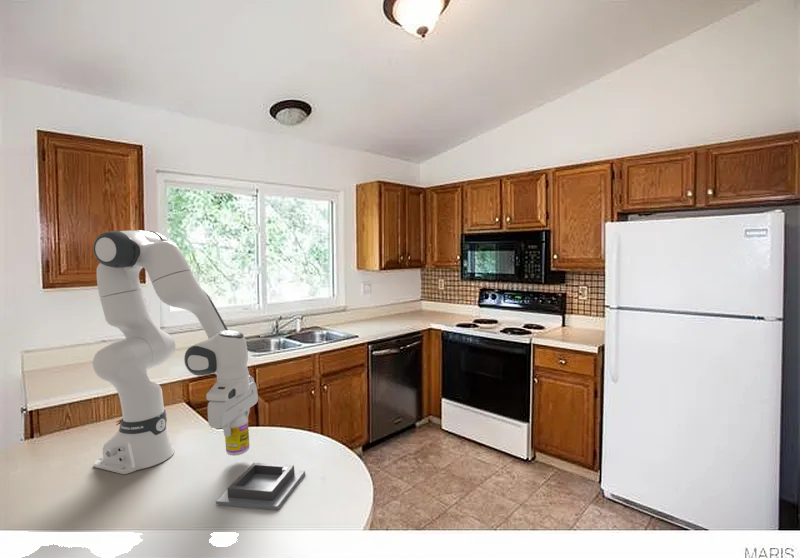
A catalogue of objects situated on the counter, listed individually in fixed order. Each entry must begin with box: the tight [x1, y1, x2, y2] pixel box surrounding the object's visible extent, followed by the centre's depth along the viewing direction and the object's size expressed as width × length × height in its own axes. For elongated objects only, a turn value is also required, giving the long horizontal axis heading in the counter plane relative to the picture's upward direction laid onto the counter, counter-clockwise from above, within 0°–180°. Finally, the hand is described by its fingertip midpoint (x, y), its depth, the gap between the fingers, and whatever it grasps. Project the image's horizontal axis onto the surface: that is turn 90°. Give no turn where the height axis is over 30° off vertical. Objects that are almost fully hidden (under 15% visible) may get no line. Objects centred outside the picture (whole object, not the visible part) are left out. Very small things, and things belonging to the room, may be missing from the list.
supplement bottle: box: [224, 409, 250, 456], centre depth 126 cm, size 7×7×13 cm
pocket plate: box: [215, 462, 306, 511], centre depth 112 cm, size 17×16×4 cm
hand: (236, 429), depth 126 cm, fingers closed on supplement bottle, 7 cm apart
